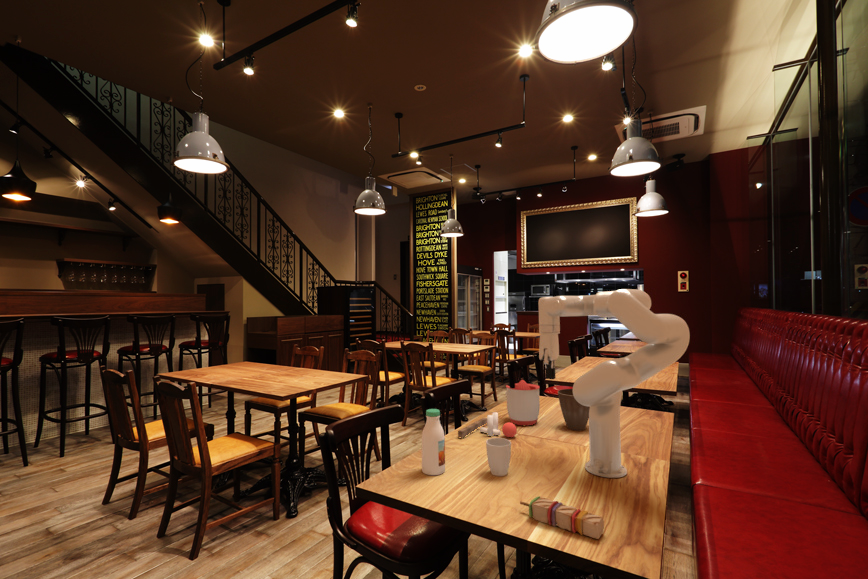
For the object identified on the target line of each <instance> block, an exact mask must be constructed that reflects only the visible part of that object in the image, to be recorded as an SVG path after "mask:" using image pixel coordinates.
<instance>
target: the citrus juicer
mask: <svg viewBox="0 0 868 579" xmlns="http://www.w3.org/2000/svg"><path fill="white" fill-rule="evenodd" d="M505 387H506V391H505V395H506V409H507V414H508V418H509V420H510V421H509V422H511V423H514V425H518V426H522V425H527V426H533V424H534V425H536V424H537V422H538V419H539V415H540V407H541V406H540V405H541V404H540V385H538V384H532V383H527V382H526V381H525V380H524V379H521V380H519V382H517V383H514V388H512V387H511V386H509V385H508V384H506V385H505ZM535 423H536V424H535Z"/></svg>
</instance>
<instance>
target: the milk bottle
mask: <svg viewBox="0 0 868 579" xmlns="http://www.w3.org/2000/svg"><path fill="white" fill-rule="evenodd" d="M425 417H426V421H425V425H424V427H423V429H422V433H421V471H422V473H423V474H425V475H428V476H439V475H442V474H444V473H445V471H446V444H445V443H446V438H445V431H444V429H443V426H442V424H441V420H440V417H441V412H440V409H437V408H429V409H426V410H425Z"/></svg>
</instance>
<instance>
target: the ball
mask: <svg viewBox="0 0 868 579" xmlns="http://www.w3.org/2000/svg"><path fill="white" fill-rule="evenodd" d="M501 431H502V434H503V435H504V436H505V437H506V438H509V437H511V438H513V437H515V436H516V435H517V432H518V430H517V426H516V424H513V423H512V422H511V421H509V422H505V423H504V424H503V425H502V430H501Z"/></svg>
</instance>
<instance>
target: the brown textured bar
mask: <svg viewBox="0 0 868 579" xmlns="http://www.w3.org/2000/svg"><path fill="white" fill-rule="evenodd" d="M486 423H487V417H483V418H480V419H478V420H477V421H474V422H472V423H471V424H469V425H466V426H465V427H463V428H461V429H459V430H457V437H461V438H463V437H465V436H466V435H468V434H469V433H471V432H472V431H474V430H475V429H477V428H478V427H480V426H482V425H484V424H486ZM465 438H466V437H465ZM463 439H464V438H463Z"/></svg>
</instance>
